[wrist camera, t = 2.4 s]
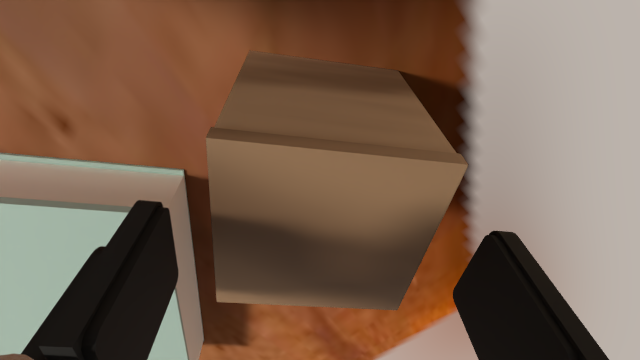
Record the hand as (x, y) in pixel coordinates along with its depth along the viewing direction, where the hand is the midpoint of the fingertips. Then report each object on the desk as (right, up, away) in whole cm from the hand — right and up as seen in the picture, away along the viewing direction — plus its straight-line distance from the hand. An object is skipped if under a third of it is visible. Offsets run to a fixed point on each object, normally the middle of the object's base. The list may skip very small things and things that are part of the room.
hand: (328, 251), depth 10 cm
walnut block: (0, +5, +5) cm, 7 cm away
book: (-14, -3, +10) cm, 17 cm away
